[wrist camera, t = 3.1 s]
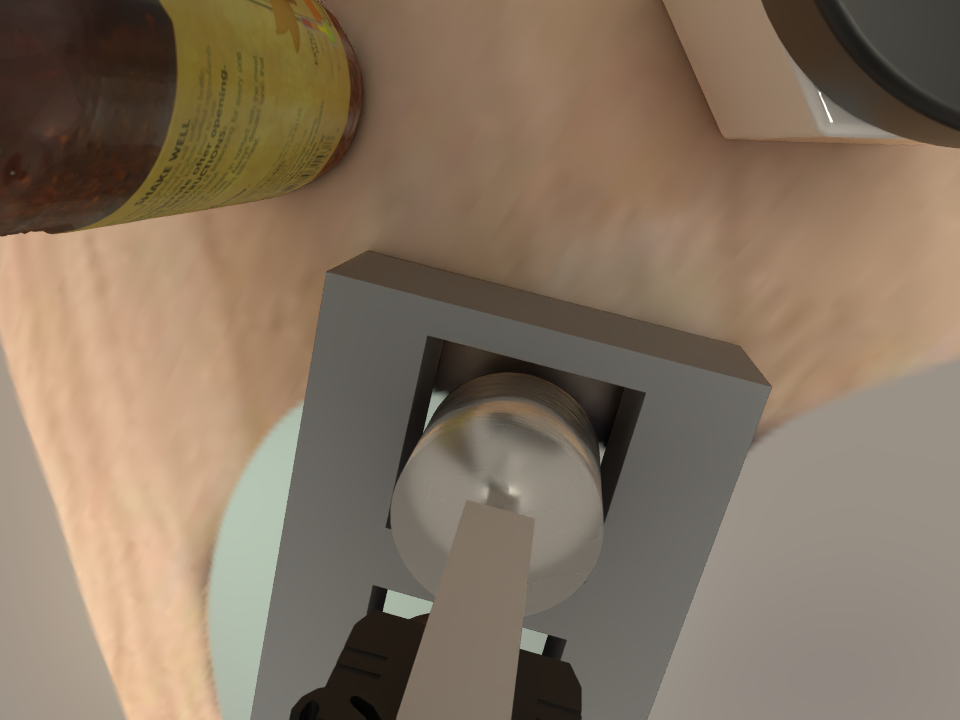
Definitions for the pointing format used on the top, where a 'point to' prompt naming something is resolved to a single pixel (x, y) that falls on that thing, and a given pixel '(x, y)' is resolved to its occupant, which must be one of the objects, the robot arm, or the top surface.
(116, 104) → the sauce bottle
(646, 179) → the top surface
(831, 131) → the jar
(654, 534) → the knob mount
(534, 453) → the knob
